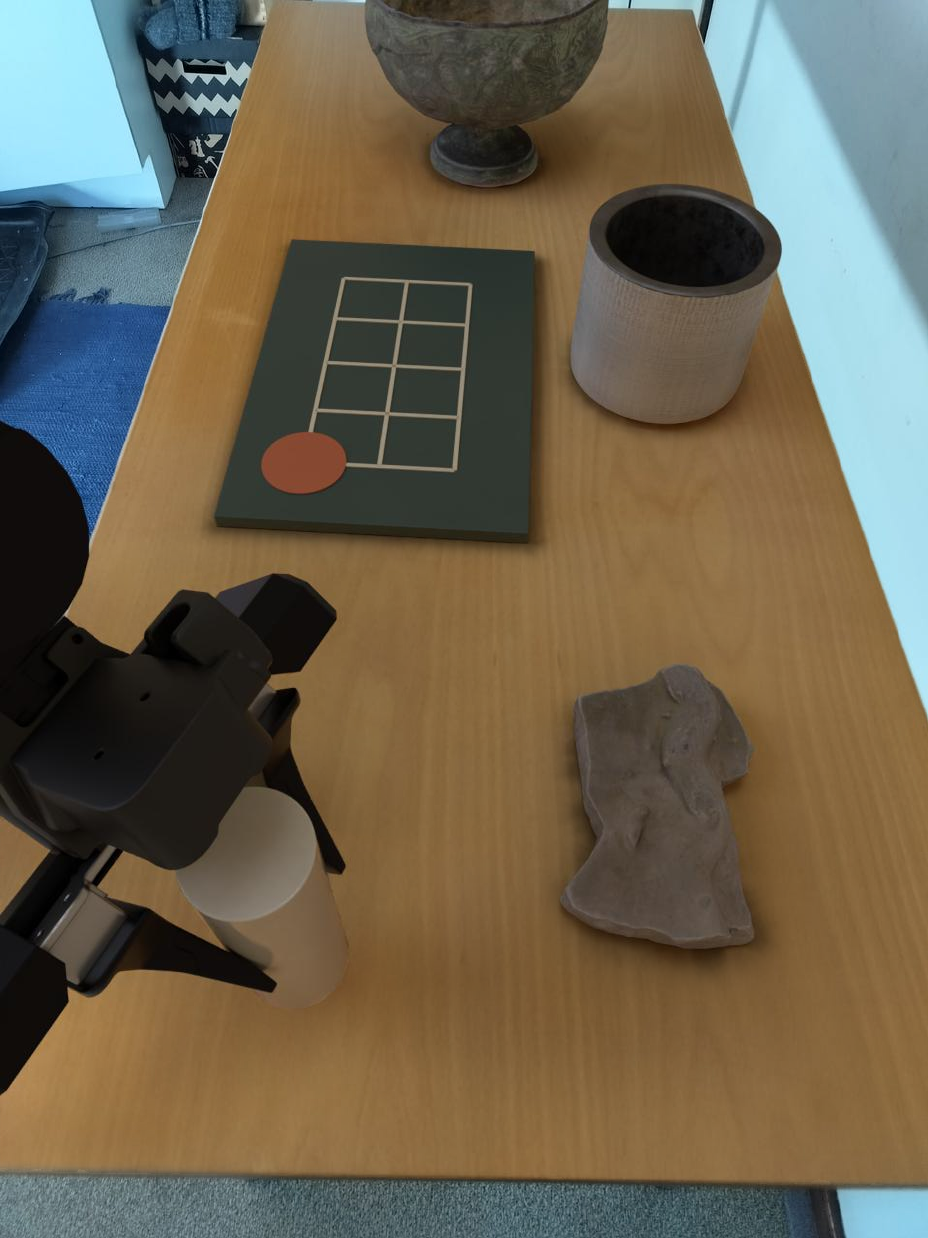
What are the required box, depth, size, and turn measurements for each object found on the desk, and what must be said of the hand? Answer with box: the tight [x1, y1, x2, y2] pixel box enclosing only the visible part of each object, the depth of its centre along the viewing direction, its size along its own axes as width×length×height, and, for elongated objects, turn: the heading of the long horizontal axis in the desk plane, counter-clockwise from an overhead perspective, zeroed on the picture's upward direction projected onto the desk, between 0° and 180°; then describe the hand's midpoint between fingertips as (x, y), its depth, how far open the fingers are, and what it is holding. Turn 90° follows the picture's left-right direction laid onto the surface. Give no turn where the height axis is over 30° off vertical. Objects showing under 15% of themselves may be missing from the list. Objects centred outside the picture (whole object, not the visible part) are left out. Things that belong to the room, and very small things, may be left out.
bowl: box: [364, 0, 610, 188], centre depth 78 cm, size 20×19×15 cm
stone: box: [559, 663, 755, 949], centre depth 46 cm, size 15×10×4 cm, turn 173°
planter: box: [569, 183, 783, 425], centre depth 63 cm, size 12×13×11 cm
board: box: [213, 238, 536, 544], centre depth 67 cm, size 20×30×1 cm, turn 177°
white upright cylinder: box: [174, 787, 350, 1011], centre depth 35 cm, size 5×5×13 cm
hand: (305, 927), depth 35 cm, fingers closed on white upright cylinder, 4 cm apart
